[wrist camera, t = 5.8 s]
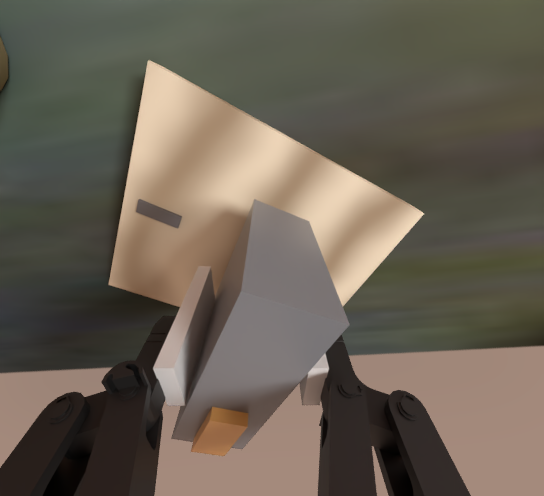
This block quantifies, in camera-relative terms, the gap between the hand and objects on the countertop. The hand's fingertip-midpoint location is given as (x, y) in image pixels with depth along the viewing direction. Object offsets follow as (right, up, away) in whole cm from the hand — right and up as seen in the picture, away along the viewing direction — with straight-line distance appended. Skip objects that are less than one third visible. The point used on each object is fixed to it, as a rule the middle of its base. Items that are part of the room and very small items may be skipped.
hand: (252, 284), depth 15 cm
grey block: (0, +1, +1) cm, 1 cm away
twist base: (0, +3, +5) cm, 6 cm away
